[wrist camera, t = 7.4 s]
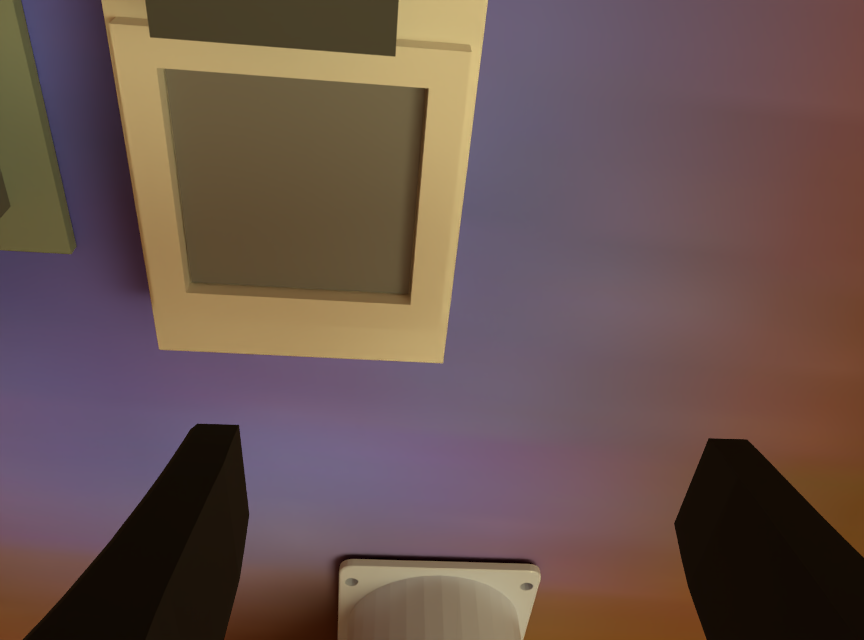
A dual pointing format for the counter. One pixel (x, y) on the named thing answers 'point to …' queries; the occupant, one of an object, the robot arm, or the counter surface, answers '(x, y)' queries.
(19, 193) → the mat
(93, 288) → the counter surface
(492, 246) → the counter surface
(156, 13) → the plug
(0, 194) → the block
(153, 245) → the power strip
